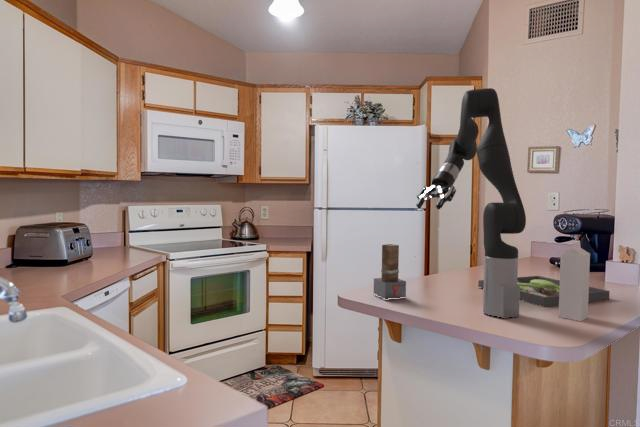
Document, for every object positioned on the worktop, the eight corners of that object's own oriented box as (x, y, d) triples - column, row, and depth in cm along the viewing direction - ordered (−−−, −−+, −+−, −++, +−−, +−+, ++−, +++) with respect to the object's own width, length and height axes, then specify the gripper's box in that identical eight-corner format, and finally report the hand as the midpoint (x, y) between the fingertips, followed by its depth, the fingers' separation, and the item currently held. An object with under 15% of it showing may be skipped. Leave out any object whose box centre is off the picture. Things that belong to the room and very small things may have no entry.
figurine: (513, 301, 151) (513, 284, 151) (508, 285, 177) (509, 271, 176) (575, 306, 145) (575, 289, 145) (560, 289, 170) (561, 275, 170)
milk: (587, 318, 130) (591, 242, 129) (580, 321, 126) (584, 244, 125) (565, 313, 134) (568, 240, 133) (557, 317, 130) (561, 242, 129)
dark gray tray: (609, 299, 153) (609, 291, 153) (543, 306, 142) (544, 297, 142) (537, 283, 181) (537, 275, 181) (478, 288, 170) (478, 280, 170)
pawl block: (406, 299, 151) (406, 281, 150) (385, 300, 148) (385, 282, 148) (393, 293, 158) (393, 277, 158) (373, 295, 156) (373, 278, 155)
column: (398, 279, 153) (399, 245, 152) (390, 281, 150) (391, 246, 150) (388, 278, 156) (389, 244, 156) (381, 279, 153) (381, 244, 153)
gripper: (426, 170, 174) (407, 199, 167) (458, 169, 164) (440, 200, 157) (433, 184, 178) (415, 213, 171) (466, 184, 168) (448, 215, 160)
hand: (427, 207), depth 164 cm, fingers open, 8 cm apart
